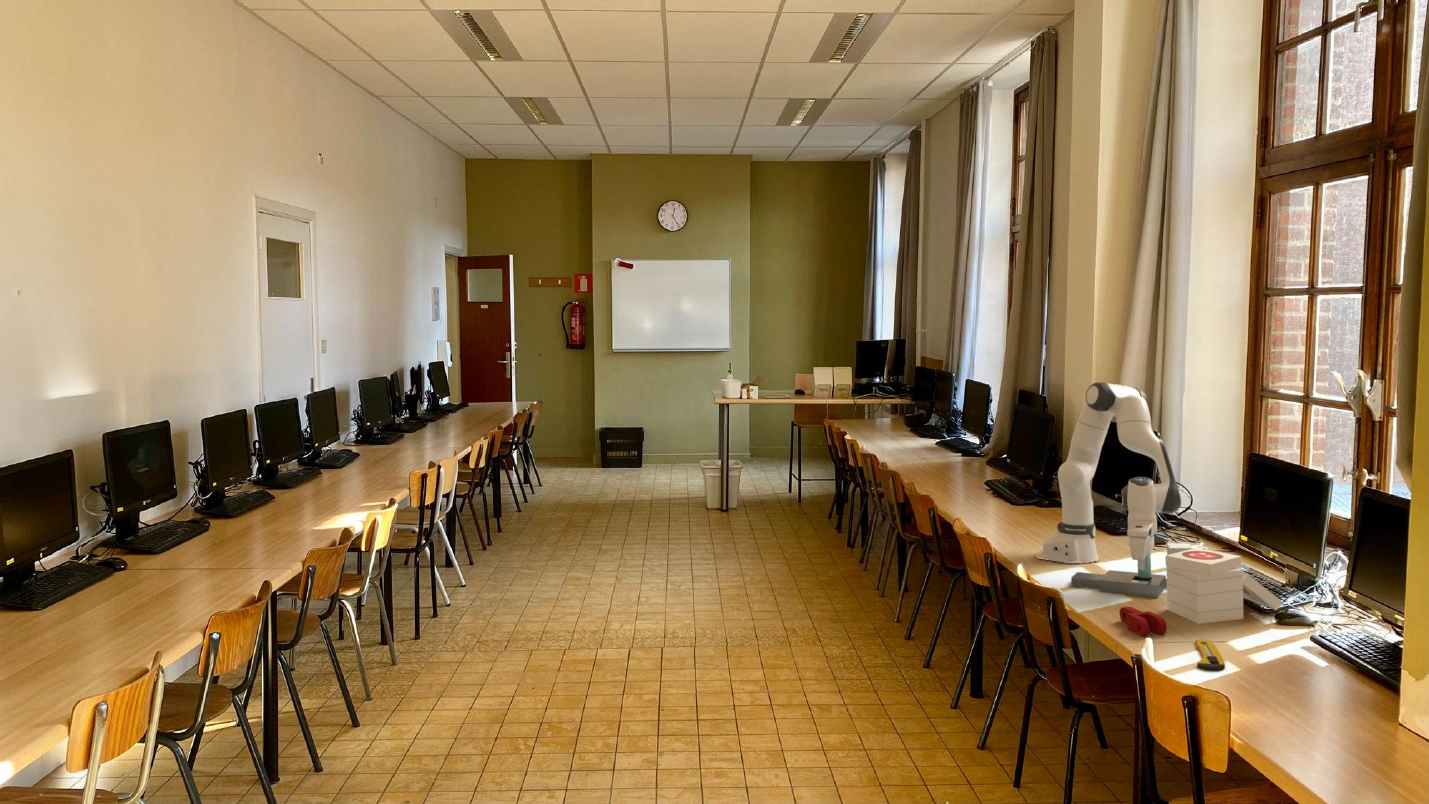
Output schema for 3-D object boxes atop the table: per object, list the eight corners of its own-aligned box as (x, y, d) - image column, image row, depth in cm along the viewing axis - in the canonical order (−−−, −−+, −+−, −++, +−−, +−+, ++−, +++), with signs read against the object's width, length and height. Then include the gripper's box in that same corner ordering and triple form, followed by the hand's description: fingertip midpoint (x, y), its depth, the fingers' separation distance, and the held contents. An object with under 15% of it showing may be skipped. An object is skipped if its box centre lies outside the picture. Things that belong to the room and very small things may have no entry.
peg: (1137, 577, 316) (1136, 554, 316) (1139, 574, 320) (1138, 551, 319) (1150, 578, 314) (1149, 554, 314) (1152, 575, 317) (1151, 552, 317)
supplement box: (1190, 579, 328) (1190, 543, 327) (1193, 584, 321) (1193, 548, 320) (1167, 578, 330) (1166, 542, 329) (1169, 584, 323) (1169, 547, 322)
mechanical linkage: (1166, 636, 273) (1166, 619, 273) (1144, 638, 272) (1143, 621, 271) (1134, 619, 289) (1133, 603, 288) (1112, 622, 288) (1112, 606, 287)
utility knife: (1199, 671, 245) (1199, 664, 245) (1185, 643, 267) (1185, 636, 267) (1228, 673, 243) (1228, 665, 243) (1212, 644, 265) (1212, 637, 264)
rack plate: (1069, 588, 324) (1068, 576, 324) (1079, 578, 336) (1079, 566, 335) (1157, 597, 308) (1157, 585, 308) (1165, 587, 320) (1165, 574, 319)
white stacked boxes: (1287, 616, 284) (1286, 557, 282) (1195, 626, 279) (1194, 566, 278) (1242, 598, 302) (1242, 543, 301) (1156, 608, 298) (1155, 551, 297)
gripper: (1138, 519, 326) (1139, 559, 327) (1126, 532, 309) (1127, 573, 310) (1158, 521, 323) (1159, 560, 323) (1146, 533, 306) (1148, 575, 307)
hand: (1143, 567), depth 317 cm, fingers closed on peg, 4 cm apart
